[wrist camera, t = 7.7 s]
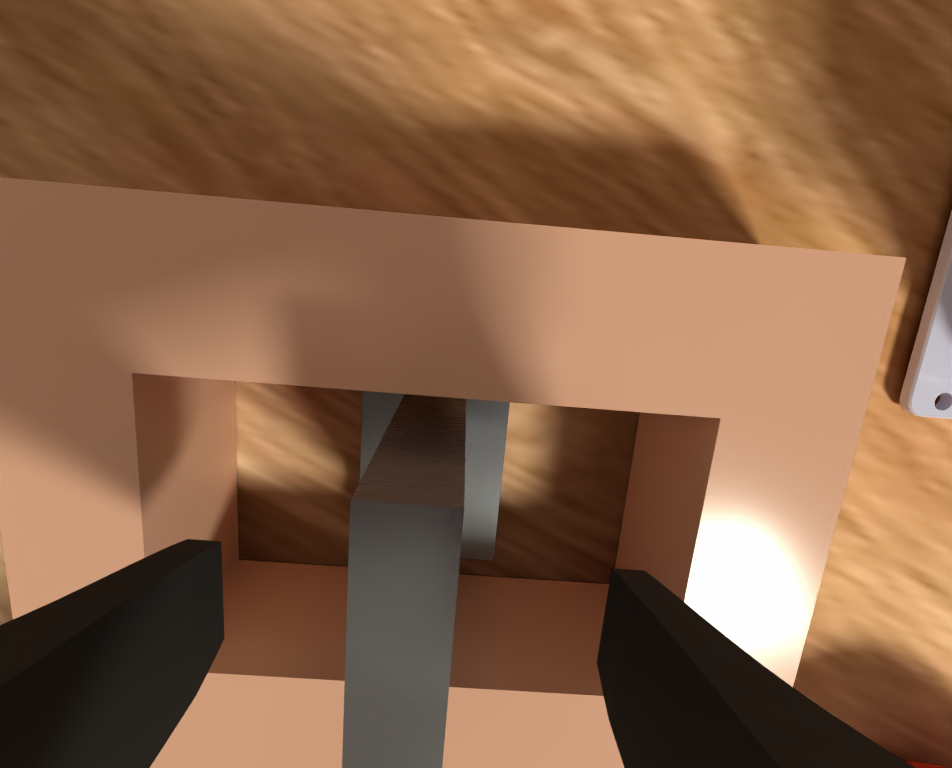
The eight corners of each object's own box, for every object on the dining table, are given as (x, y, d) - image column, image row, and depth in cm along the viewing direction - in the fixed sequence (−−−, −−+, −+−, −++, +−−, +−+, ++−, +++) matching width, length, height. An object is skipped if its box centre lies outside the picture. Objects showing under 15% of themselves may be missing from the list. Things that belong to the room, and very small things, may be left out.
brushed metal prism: (507, 386, 15) (548, 513, 7) (491, 539, 16) (513, 794, 8) (371, 376, 15) (263, 494, 7) (365, 530, 16) (266, 781, 8)
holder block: (770, 261, 14) (906, 257, 10) (684, 680, 17) (757, 821, 13) (118, 203, 14) (-49, 172, 9) (149, 648, 17) (35, 783, 12)
